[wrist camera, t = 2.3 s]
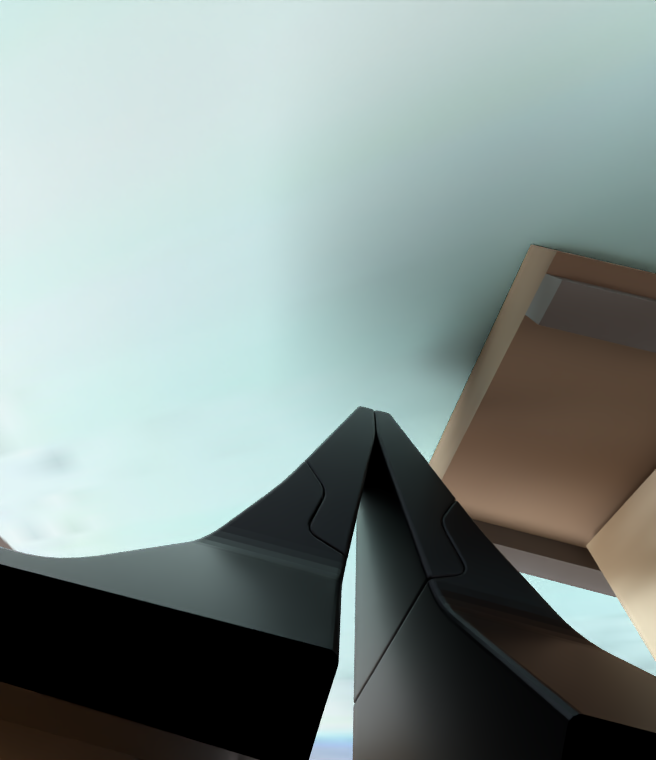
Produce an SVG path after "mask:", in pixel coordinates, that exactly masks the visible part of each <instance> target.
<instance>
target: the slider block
mask: <svg viewBox="0 0 656 760" xmlns="http://www.w3.org/2000/svg"><path fill="white" fill-rule="evenodd" d="M586 547H587V548H588V550H589V552H590V553H591V555H592V557H593V558H594V560H595V562H596V563H597V565H598V567H599V568H600V570H601V572H602V573H603V575H604V576H605V578H606V580H607V581H608V583H609V585H610V586H611V588H612V590H613V591H614V593H615V595H616V596H617V598H618V600H619V601H620V603H621V605H622V606H623V608H624V610H625V611H626V613H627V615H628V616H629V618H630V620H631V621H632V623H633V625H634V626H635V628H636V630H637V631H638V633H639V635H640V636H641V638H642V640H643V641H644V643H645V645H646V646H647V648H648V650H649V651H650V653H651V655H652V656H653V658H654V660H655V661H656V469H655V471H654V472H653V473H652V474H651V475H650V476H649V477H648V478H647V479H646V480H645V482H644V483H643V484H642V485H641V486H640V487H639V488H638V489H637V490H636V491H635V493H634V494H633V495H632V496H631V497H630V498H629V499H628V500H627V501H626V502H625V504H624V505H623V506H622V507H621V508H620V509H619V510H618V511H617V512H616V513H615V514H614V516H613V517H612V518H611V519H610V520H609V521H608V522H607V523H606V524H605V525H604V527H603V528H602V529H601V530H600V531H599V532H598V533H597V534H596V535H595V536H594V538H593V539H592V540H591V541H590V542H589V543H588V544H587V545H586Z"/></svg>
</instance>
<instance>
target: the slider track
mask: <svg viewBox="0 0 656 760" xmlns="http://www.w3.org/2000/svg"><path fill="white" fill-rule="evenodd" d="M429 465H430V466H431V467H432V469H433V470H434V471H435V472H436V474H437V475H438V476H439V478H440V479H441V480H442V481H443V483H444V484H445V485H446V487H447V488H448V489H449V490H450V492H451V493H452V494H453V496H454V497H455V498H456V501H458V502H459V503H460V504H461V506H462V507H463V508H464V509H465V511H466V512H467V513H468V515H469V516H470V517H471V518H472V519H473V521H474V522H475V523H476V524H477V525H478V527H479V528H480V529H481V530H482V532H483V533H484V534H485V535H486V536H487V537H488V538H489V540H490V541H491V542H492V543H493V544H494V545H495V546H496V547H497V549H498V550H499V551H500V552H501V553H502V554H503V555H504V556H505V557H506V559H507V560H508V561H509V562H510V563H511V564H512V565H513V566H514V567H515V568H516V569H517V571H518V572H521V573H525V574H529V575H533V576H537V577H541V578H544V579H548V580H552V581H556V582H560V583H564V584H567V585H571V586H575V587H579V588H583V589H587V590H590V591H594V592H598V593H602V594H606V595H610V596H613V597H617V596H616V595H615V593H614V591H613V590H612V588H611V586H610V585H609V583H608V581H607V580H606V578H605V576H604V575H603V573H602V572H601V570H600V568H599V567H598V565H597V563H596V562H595V560H594V558H593V557H592V555H591V553H590V552H589V550H588V548H587V547H586V545H587V544H588V543H589V542H590V541H591V540H592V539H593V538H594V536H595V535H596V534H597V533H598V532H599V531H600V530H601V529H602V528H603V527H604V525H605V524H606V523H607V522H608V521H609V520H610V519H611V518H612V517H613V516H614V514H615V513H616V512H617V511H618V510H619V509H620V508H621V507H622V506H623V505H624V504H625V502H626V501H627V500H628V499H629V498H630V497H631V496H632V495H633V494H634V493H635V491H636V490H637V489H638V488H639V487H640V486H641V485H642V484H643V483H644V482H645V480H646V479H647V478H648V477H649V476H650V475H651V474H652V473H653V472H654V471H655V469H656V273H652V272H648V271H643V270H639V269H635V268H631V267H626V266H622V265H618V264H614V263H609V262H605V261H601V260H596V259H592V258H588V257H584V256H579V255H575V254H571V253H566V252H562V251H558V250H554V249H549V248H545V247H541V246H536V245H532V244H531V245H530V247H529V249H528V252H527V254H526V256H525V258H524V260H523V262H522V265H521V267H520V269H519V271H518V273H517V275H516V277H515V280H514V282H513V284H512V286H511V288H510V290H509V292H508V295H507V297H506V299H505V301H504V303H503V305H502V308H501V310H500V312H499V314H498V316H497V318H496V320H495V323H494V325H493V327H492V329H491V331H490V333H489V336H488V338H487V340H486V342H485V344H484V346H483V348H482V351H481V353H480V355H479V357H478V359H477V361H476V363H475V366H474V368H473V370H472V372H471V374H470V376H469V379H468V381H467V383H466V385H465V387H464V389H463V391H462V394H461V396H460V398H459V400H458V402H457V404H456V407H455V409H454V411H453V413H452V415H451V417H450V419H449V422H448V424H447V426H446V428H445V430H444V432H443V434H442V437H441V439H440V441H439V443H438V445H437V447H436V450H435V452H434V454H433V456H432V458H431V460H430V462H429Z"/></svg>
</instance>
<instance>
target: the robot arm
mask: <svg viewBox="0 0 656 760" xmlns="http://www.w3.org/2000/svg"><path fill="white" fill-rule="evenodd" d="M356 519H357V532H356V595H355V658H354V703H355V704H354V712H353V760H656V676H654V675H652V674H650V673H648V672H646V671H644V670H642V669H640V668H638V667H636V666H634V665H632V664H630V663H628V662H626V661H624V660H622V659H620V658H618V657H616V656H614V655H612V654H610V653H608V652H606V651H604V650H602V649H601V648H599V647H598V646H596V645H594V644H593V643H591V642H590V641H588V640H587V639H586V638H584V637H583V636H582V635H580V634H579V633H578V632H576V631H575V630H574V629H573V628H572V627H571V626H569V625H568V624H567V623H566V622H565V621H564V620H563V619H562V618H561V617H560V616H559V615H558V614H557V613H556V612H555V611H554V610H553V609H552V608H551V606H550V605H549V604H548V603H547V602H546V601H545V600H544V599H543V598H542V597H541V596H540V594H539V593H538V592H537V591H536V590H535V589H534V588H533V587H532V586H531V585H530V584H529V583H528V581H527V580H526V579H525V578H524V577H523V576H522V575H521V574H520V573H519V572H518V571H517V569H516V568H515V567H514V566H513V565H512V564H511V563H510V562H509V561H508V560H507V559H506V557H505V556H504V555H503V554H502V553H501V552H500V551H499V550H498V549H497V547H496V546H495V545H494V544H493V543H492V542H491V541H490V540H489V538H488V537H487V536H486V535H485V534H484V533H483V532H482V530H481V529H480V528H479V527H478V525H477V524H476V523H475V522H474V521H473V519H472V518H471V517H470V516H469V515H468V513H467V512H466V511H465V509H464V508H463V507H462V506H461V504H460V503H459V502H458V501H456V498H455V497H454V496H453V494H452V493H451V492H450V490H449V489H448V488H447V487H446V485H445V484H444V483H443V481H442V480H441V479H440V478H439V476H438V475H437V474H436V472H435V471H434V470H433V469H432V467H431V466H430V465H429V464H428V462H427V461H426V460H425V458H424V457H423V456H422V455H421V453H420V452H419V451H418V449H417V448H416V447H415V446H414V444H413V443H412V442H411V440H410V439H409V438H408V437H407V435H406V434H405V433H404V432H403V430H402V429H401V428H400V426H399V425H398V424H397V423H396V421H395V420H394V419H393V417H392V416H391V415H390V414H389V413H385V412H381V411H374V410H373V409H369V408H365V407H361V406H360V407H358V408H357V409H356V410H355V411H354V412H353V413H352V414H351V415H350V416H349V417H348V418H347V419H346V420H345V421H344V422H343V423H342V424H341V425H340V426H339V427H338V428H337V429H336V430H335V431H334V432H333V433H332V434H331V435H330V436H329V437H328V438H327V439H326V440H325V441H324V442H323V443H322V444H321V445H320V446H319V447H318V448H317V449H316V450H315V451H314V452H313V453H312V454H311V455H310V456H309V457H308V458H307V459H306V460H305V462H303V463H302V464H301V465H300V466H299V467H298V468H297V469H296V470H295V471H294V472H293V473H292V474H291V475H289V476H288V477H287V478H286V479H285V480H284V481H283V482H282V483H280V484H279V485H278V486H277V487H275V488H274V489H273V490H271V491H270V492H269V493H268V494H266V495H265V496H263V497H262V498H261V499H259V500H258V501H257V502H255V503H254V504H252V505H251V506H250V507H248V508H247V509H246V510H244V511H243V512H241V513H240V514H239V515H237V516H236V517H235V518H233V519H232V520H230V521H229V522H228V523H226V524H225V525H224V526H222V527H221V528H219V529H218V530H216V531H214V532H213V533H211V534H209V535H207V536H205V537H203V538H201V539H198V540H195V541H191V542H185V543H179V544H172V545H165V546H159V547H152V548H146V549H139V550H132V551H126V552H119V553H112V554H106V555H99V556H90V557H81V558H54V557H42V556H36V555H31V554H26V553H22V552H18V551H14V550H10V549H7V548H3V547H0V760H309V757H310V754H311V751H312V747H313V744H314V741H315V737H316V734H317V731H318V727H319V724H320V721H321V718H322V714H323V711H324V708H325V705H326V702H327V699H328V695H329V692H330V689H331V686H332V683H333V680H334V677H335V674H336V670H337V667H338V662H339V639H340V614H341V590H342V582H343V576H344V571H345V566H346V561H347V558H348V553H349V549H350V545H351V540H352V536H353V532H354V527H355V523H356Z"/></svg>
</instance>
